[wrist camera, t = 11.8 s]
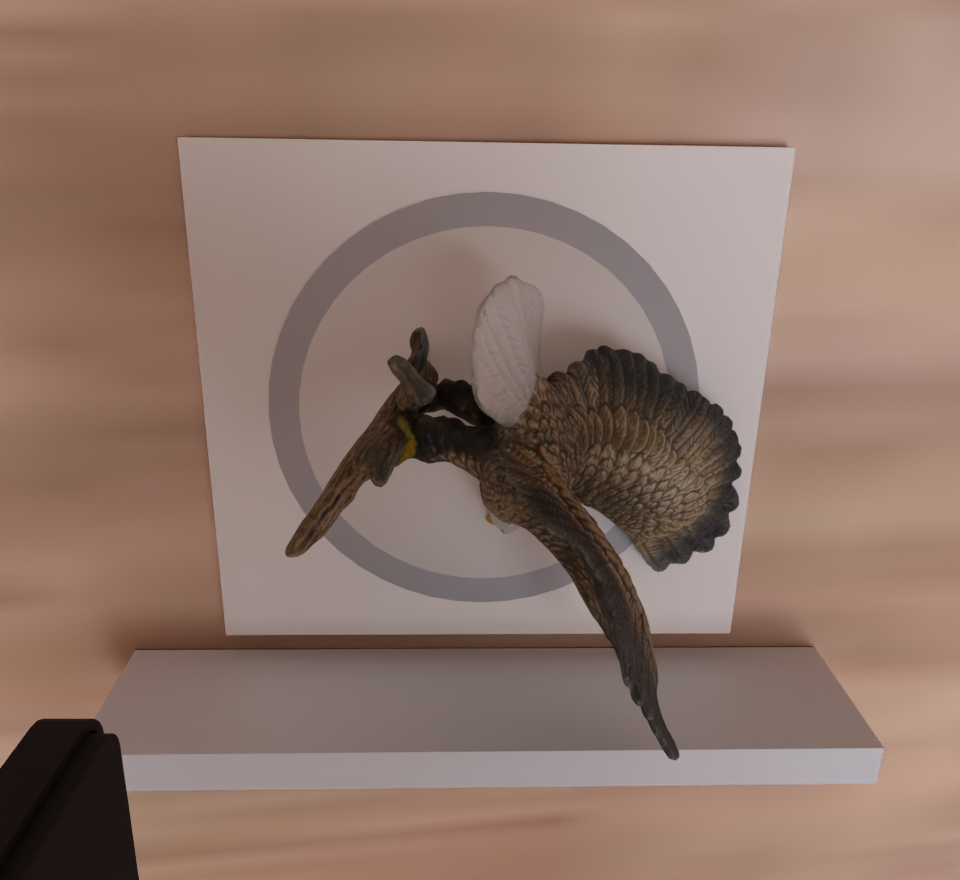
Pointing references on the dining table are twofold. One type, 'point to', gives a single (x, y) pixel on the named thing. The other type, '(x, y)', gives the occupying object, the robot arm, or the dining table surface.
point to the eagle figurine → (561, 462)
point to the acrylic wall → (480, 719)
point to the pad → (456, 355)
